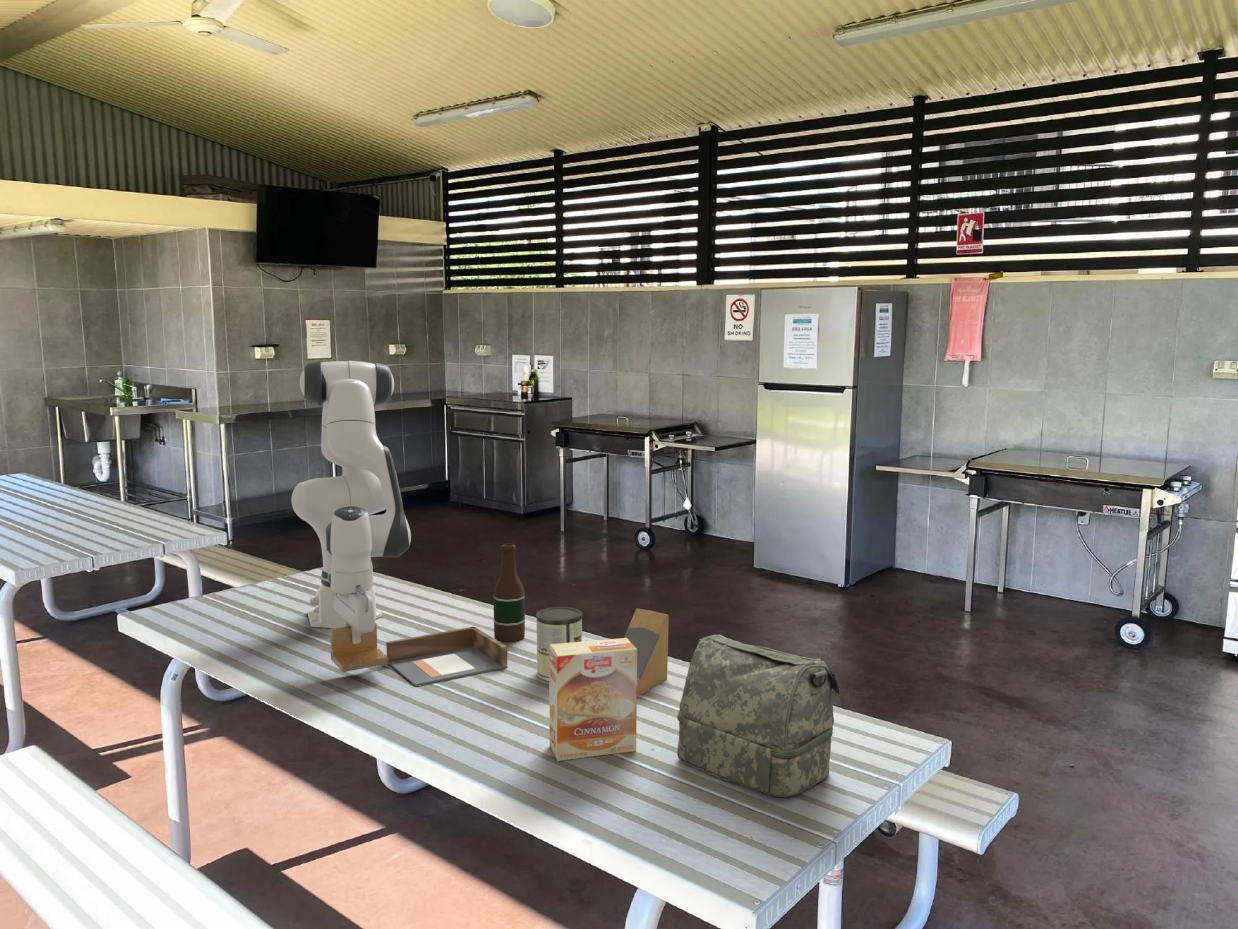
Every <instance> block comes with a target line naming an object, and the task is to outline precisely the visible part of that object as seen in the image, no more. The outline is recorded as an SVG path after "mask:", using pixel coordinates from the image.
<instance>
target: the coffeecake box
mask: <svg viewBox="0 0 1238 929" xmlns="http://www.w3.org/2000/svg"><path fill="white" fill-rule="evenodd" d="M549 667H550V675H549V681H548V683H549V684H548V685H549V690H548V691H549V693H548V694H549V695H548V696H549V701H548V703H549V726H548V727H549V732H548V733H549V739H548V740H549V746H550V748H551V751H552V752H553V755H554V757H555V759H556V761H557V762H560V761H568V760H576V759H584V758H593V757H601V756H609V755H615V754H623V753H631V752H637V716H638V715H637V714H638V713H637V708H638V707H637V706H638V705H637V704H638V703H637V701H638V699H637V698H638V696H637V648H636V647H635V646H634V645H633V644H632V643H631V642H630V641H629V640H628V639H627V638H624V637H623V638H622V637H621V638H610V639H597V640H585V641H582V642H572V643H560V644H550V645H549Z"/></svg>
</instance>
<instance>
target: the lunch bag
mask: <svg viewBox="0 0 1238 929" xmlns="http://www.w3.org/2000/svg"><path fill="white" fill-rule="evenodd" d="M684 681H685V683H684V686H683V692H682V694H681V699H680V703H679V711H678V714H677V716H676V718H677V721H678V727H679V728H678V743H677V752H676V756H677V758H678V759H679V760H680V761H681V762H682V763H684V764H686V765H689V766H691V767H693V768H695V769H698V770H700V771H702V772H705V773H707V774H709V775H712V776H715V777H717V778H719V779H720V780H724V781H727V782H732V783H735V784H737V785H741V786H743V787H746V788H749V789H752V790H754V791H758V792H762V793H764V794H766V795H770V796H773V797H776V798H785V797H792V796H796V795H798V794H801V793H802V792H805V791H806V790H808V789H810V788H812V787H814V786H815V785H817V784H818V783H820V782H822V781H823V780H824V779H825V778H827V777H828V776H829V775H830V762H831V752H832V751H831V749H832V737H833V733H834V732H833V730H834V727H833V726H834V722H835V720H834V719H835V718H834V705H833V704H834V699H833V691H834V692H835V693H836V694H838V695H839V694H841V693H840V687H839V683H838V680H837V677H836V675H835V674H834V673H833V672H832V671H831V670H830V669H829V667H828V666H827V664H826V662H825V661H824V660H821V659H820V658H809V657H804V656H800V655H797V654H791V653H788V652H784V651H780V650H776V649H773V648H771V647H766V646H765V647H764V646H759V645H751V644H747V643H743V642H741V641H737V640H733V639H731V638H727V637H725V636H724V635H722V634H712V635H708V636H705V637H702V638H700V639H698V644H697V646H696V647H695V650H694V652H693V654H692V657H691V660H690V663H689V667H688V670H687V674H686V678H685V680H684Z"/></svg>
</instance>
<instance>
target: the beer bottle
mask: <svg viewBox="0 0 1238 929" xmlns="http://www.w3.org/2000/svg"><path fill="white" fill-rule="evenodd" d="M500 550H501V565H500V566H501V568H500V576H499V577H498V579H497V581H495V585H494V587H493V634H494V636H493V638H494V639H496V640H497V641H499V642H501V643H507V644H509V643H518V642H520V641H522V640H523V639H525V635H526V633H525V632H526V626H525V625H526V616H525V614H526V611H525V610H526V609H525V606H526V605H525V600H526V598H525V595H526V594H525V587H524V585H523V583H522V581H521V580H520V578H519V576H518V572H517V562H516V550H517V547H516V544H514V543H504V544H502V545H501V547H500Z"/></svg>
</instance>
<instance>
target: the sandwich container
mask: <svg viewBox="0 0 1238 929" xmlns="http://www.w3.org/2000/svg"><path fill="white" fill-rule="evenodd" d="M669 616H670V615H669V614H666V613H662V612H658V611H653V610H648V609H642V608H638V607H637V608H635V611H634V613H633V616H632V618H631V620H630V623H629V625H628V627H627V629H626V631H625V634H624V636H623V638H627V639H628V640H629V641H630V642H631V643H632V644H633V645H634V646H635V647H636V648H637V697H638V696H640V695H642V694H644V693H646V692H647V691H649V690H651V689H653V688H654V687H657V686H658V685H659V684H662V683H663V682H664V681H666V680H667V679H668V663H669V662H668V661H669V660H668V657H669V656H668V655H669V623H670V622H669V619H670V618H669Z"/></svg>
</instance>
